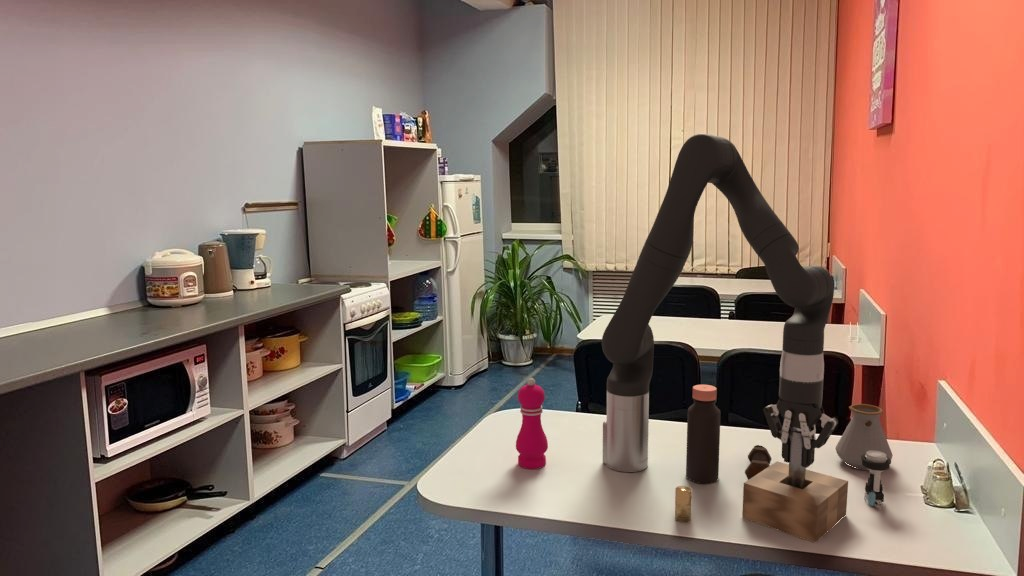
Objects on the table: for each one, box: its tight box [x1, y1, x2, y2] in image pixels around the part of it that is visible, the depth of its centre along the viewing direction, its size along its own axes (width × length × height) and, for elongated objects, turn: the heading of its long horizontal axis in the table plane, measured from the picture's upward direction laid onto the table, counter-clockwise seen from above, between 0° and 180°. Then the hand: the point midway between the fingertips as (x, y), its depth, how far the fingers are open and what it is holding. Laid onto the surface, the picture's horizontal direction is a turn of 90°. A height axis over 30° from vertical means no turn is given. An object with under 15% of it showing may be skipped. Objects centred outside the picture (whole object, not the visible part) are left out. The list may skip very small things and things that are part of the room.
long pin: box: [788, 427, 807, 489], centre depth 141 cm, size 3×3×14 cm
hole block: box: [741, 460, 849, 543], centre depth 142 cm, size 14×14×7 cm
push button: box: [861, 450, 892, 510], centre depth 147 cm, size 7×5×10 cm
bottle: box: [685, 384, 721, 485], centre depth 159 cm, size 7×7×20 cm
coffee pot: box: [835, 403, 893, 472], centre depth 161 cm, size 21×12×15 cm, turn 156°
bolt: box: [744, 444, 772, 480], centre depth 163 cm, size 6×5×15 cm
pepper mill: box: [515, 377, 549, 470], centre depth 168 cm, size 7×7×20 cm
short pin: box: [674, 485, 693, 524], centre depth 142 cm, size 3×3×6 cm
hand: (797, 463), depth 141 cm, fingers closed on long pin, 3 cm apart
